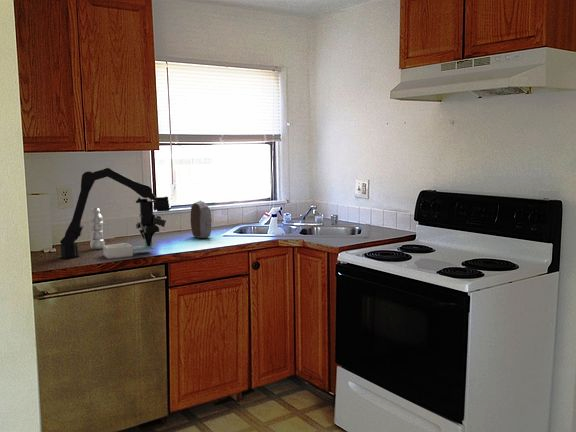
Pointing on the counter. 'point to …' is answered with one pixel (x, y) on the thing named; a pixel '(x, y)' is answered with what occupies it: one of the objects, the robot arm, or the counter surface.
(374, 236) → the counter surface
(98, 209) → the plastic bottle
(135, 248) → the lid
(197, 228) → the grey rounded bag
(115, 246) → the tub
